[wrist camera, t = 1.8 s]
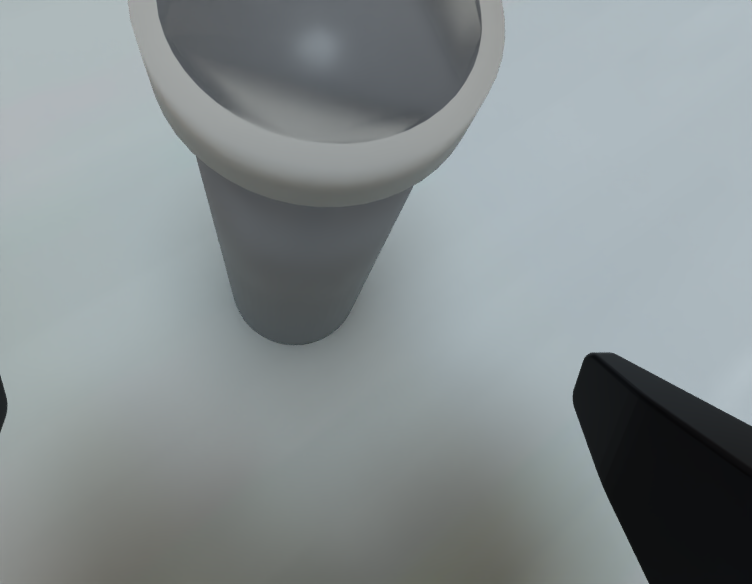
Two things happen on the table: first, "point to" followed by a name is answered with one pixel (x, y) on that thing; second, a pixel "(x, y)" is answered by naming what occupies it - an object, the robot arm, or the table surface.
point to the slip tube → (314, 131)
